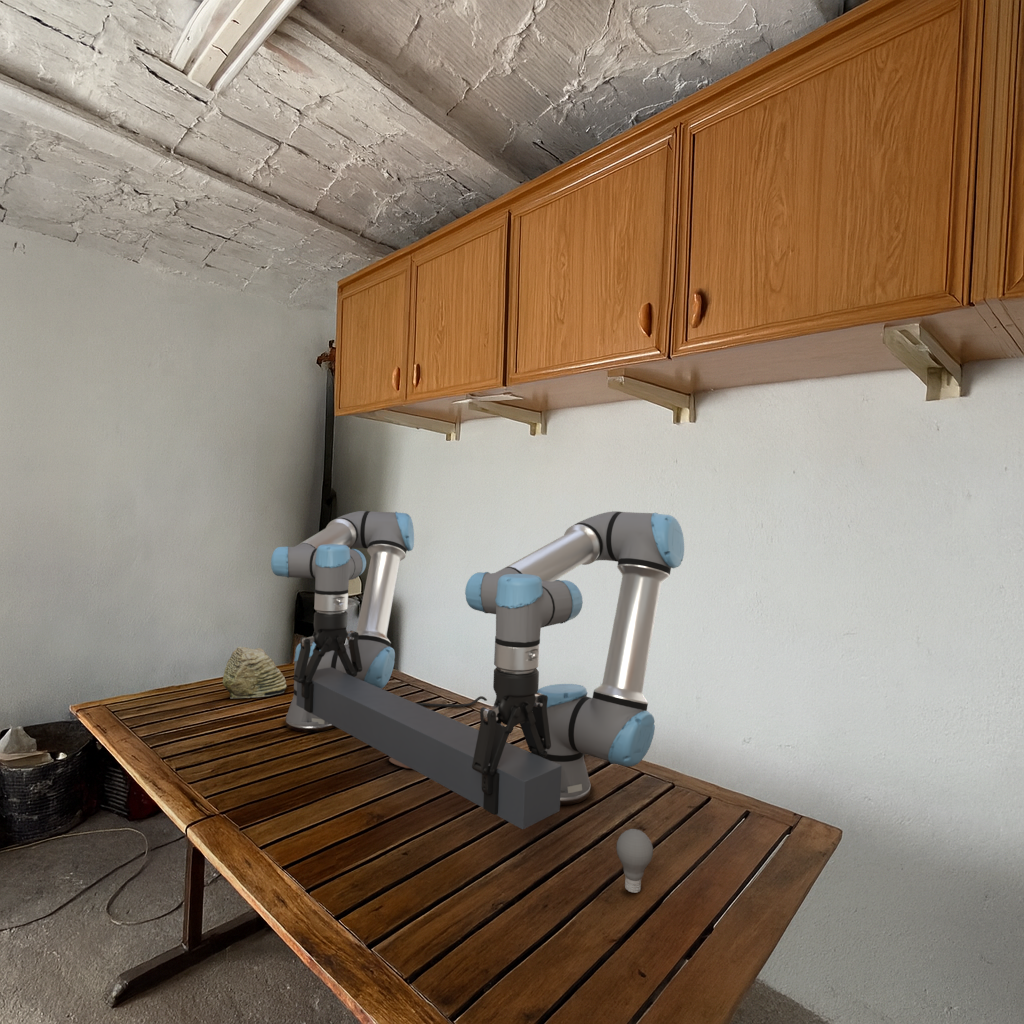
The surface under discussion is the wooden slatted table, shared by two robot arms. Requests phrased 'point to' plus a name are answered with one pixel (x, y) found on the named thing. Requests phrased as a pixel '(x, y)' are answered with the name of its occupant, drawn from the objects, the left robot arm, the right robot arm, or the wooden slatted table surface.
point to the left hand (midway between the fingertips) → (327, 706)
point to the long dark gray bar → (435, 746)
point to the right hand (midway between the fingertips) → (511, 801)
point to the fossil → (252, 674)
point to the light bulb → (634, 857)
